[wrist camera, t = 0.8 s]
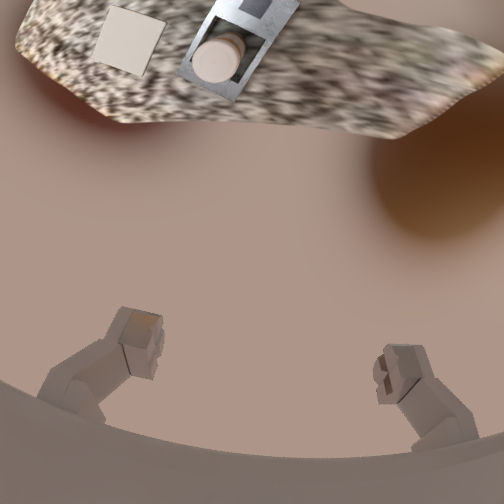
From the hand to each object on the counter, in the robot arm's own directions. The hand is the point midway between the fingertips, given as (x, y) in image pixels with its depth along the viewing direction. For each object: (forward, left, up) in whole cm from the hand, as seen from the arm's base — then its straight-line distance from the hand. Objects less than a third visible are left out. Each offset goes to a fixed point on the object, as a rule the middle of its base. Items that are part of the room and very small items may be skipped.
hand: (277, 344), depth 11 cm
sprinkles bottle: (-1, -7, -39) cm, 39 cm away
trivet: (+4, -21, -39) cm, 44 cm away
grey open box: (-3, -7, -39) cm, 39 cm away
